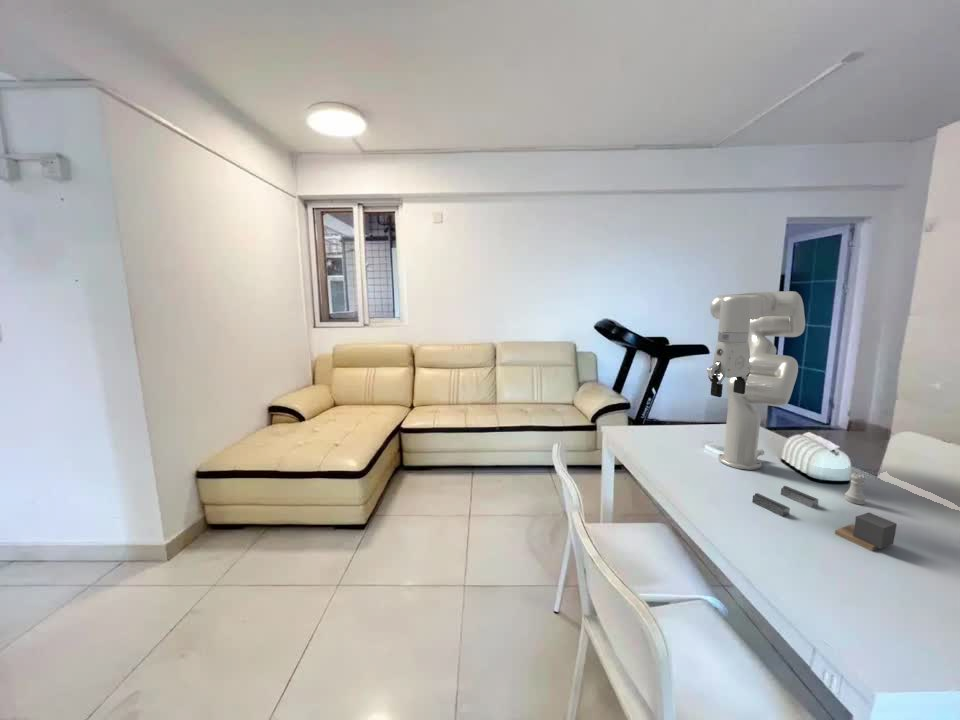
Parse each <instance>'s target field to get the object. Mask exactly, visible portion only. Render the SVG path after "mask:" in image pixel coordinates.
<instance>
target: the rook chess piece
mask: <svg viewBox="0 0 960 720" xmlns="http://www.w3.org/2000/svg"><path fill="white" fill-rule="evenodd" d="M849 476H850V478H851V480H850V486H849V488H848V489H847V491H846V492H844V499H845V501H847V502H849V503H851V504H853V505H854V504H855V505H859V504H860V505H862V506H863V505H864V504H866V503H867V502H866V499H867V498H866V496H865V494H864V485H865V483H864V482H865V481H867V478H866V475H865V474H862V473H858V474H857V472H852V474H850V475H849ZM860 505H859V506H860Z"/></svg>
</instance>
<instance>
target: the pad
mask: <svg viewBox="0 0 960 720" xmlns="http://www.w3.org/2000/svg"><path fill="white" fill-rule="evenodd" d="M854 526H855V523H854V524H853V523H852V524H848V525H846V526H843V527H841V528H838V529H835V532H834V534H835V535H837V536H839V537H841V538H843V539H845V540H847V541H850V542H852V543H854V544H856V545H858V546H860V547H862V548H864V549H867V550H869V551H871V552H873V551H875V550H878V549H879V548H878V547H876V546H874V545H872V544H869V543H867V542H865V541H863V540H861V539H858V538H856V537H854V536H853V533H854Z"/></svg>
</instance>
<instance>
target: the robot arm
mask: <svg viewBox="0 0 960 720" xmlns="http://www.w3.org/2000/svg"><path fill="white" fill-rule="evenodd" d="M709 309H710V310H709V311H710V313H711V316H712V317H713V318H714V319H715V320H718V321H719V323H718V331H717V343H716V346H715V350H714V355H713V362H712V365H711V366H709V367H708V368H707V370H706V371H707V375H708V379H709V382H710V383H711V384H710V385H711V386H710V396H711V397H716V398H721V397H722V396H723V383H722V382H723V381H724V380H725V378H728V379H727V382H726V392H727V394H726V395H727V414H726V415H727V416H726V422H725V423H726V424H725V433H724V435H725V437H724V446H723V453H724V454H721V453H719V454H718V455H717V456H718V457H717V459H718V461H719V462H721V463H722V464H724V465H726V466H727V467H728V466H729V467H732V468H735V469H739V470H748V471H749V470H752V471H755V470H759V469H761V468H762V462H761V461H760V460H759V459H758V457H759V456H764V455H765V450H763V449H758V446H759V437H760V428H761V420H762V417H761V416H762V415H761V413H760V411H759V409H758V407H757V406H756V405H755V404H757V405H764V406H771V407H784V406H786V405H787V404H788V403H789V402H790V400H791V396H792V393H793V390H794V386H795V384H796V380H797V377H798V373H799V364H798V361H797V359H795V358H794V357H793V356H790V355H784V354H777V347H776V346H775V344H774V343H773V342H772V341H771V340H770V339H769V338H768V337H779V338H780V337H781V338H782V337H784V338H796V337H799V336H801V335H802V334H804V332H805V329H806V317H805V306H804V302H803V298H802V296H801V294H799V292H797V291H793V290H792V291H791V290H788V291H787V290H786V291H785V290H783V291H780V290H779V291H778V290H777V291H758V292H756V291H755V292H744V293H734V294H724V295H723V294H721V295H716V296H715V297H714V298H713V299H712V300H711V303H710V308H709Z"/></svg>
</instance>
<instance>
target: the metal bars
mask: <svg viewBox="0 0 960 720" xmlns="http://www.w3.org/2000/svg"><path fill="white" fill-rule="evenodd" d="M780 495H781V496H783V497H785V498H788V499H790V500H793V501H795V502H797V503H798V504H799V503H800V504H802V505H804V506H806V507H808V508H811V509H813V508H816V507H818V506H819V498H816V497H815V496H813V495H809V494H808V493H805V492H803V491H799V490H797V489H794V488H792V487H789V486H787V485H784V486H783V487H781V490H780ZM752 503H753V504H756V505H757V506H760V507H761V508H764V509H766V510H768V511H770V512H772V513H774V514H777V515H778V516H780V517H786V516H789V515H790V510H791V508H790V507H789V506H787V505H785V504H783V503H780V502H778V501H776V500H773V499H771V498H769V497H767V496H764V495H763V494H760V493H758V492H756V493H754V494H753V495H752Z"/></svg>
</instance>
